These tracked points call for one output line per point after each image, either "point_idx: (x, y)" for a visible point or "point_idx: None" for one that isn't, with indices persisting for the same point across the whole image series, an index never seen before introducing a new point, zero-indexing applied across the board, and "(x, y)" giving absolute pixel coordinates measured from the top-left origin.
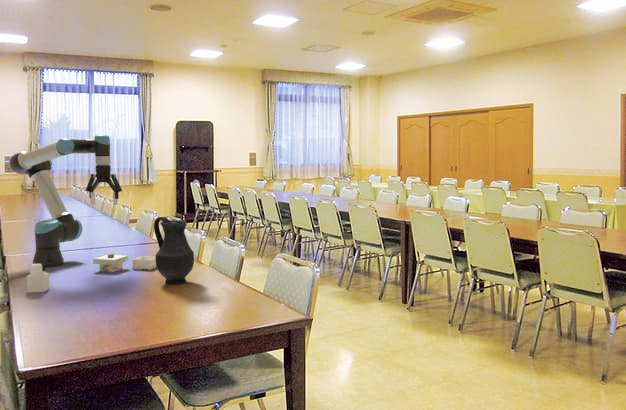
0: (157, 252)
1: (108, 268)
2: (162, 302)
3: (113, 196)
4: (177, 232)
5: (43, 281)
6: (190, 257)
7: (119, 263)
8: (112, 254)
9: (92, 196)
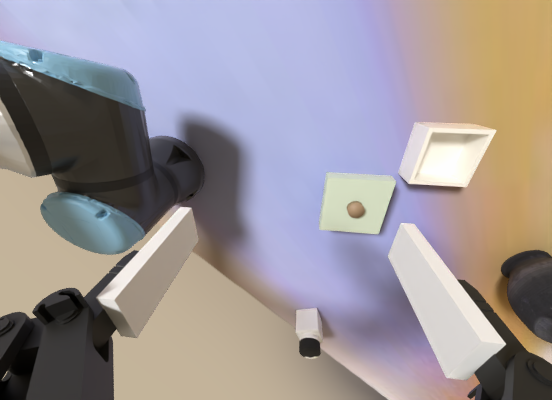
0: (541, 333)
1: None
2: None
3: (428, 330)
4: None
5: (322, 334)
6: None
7: None
8: (360, 210)
9: (161, 287)
